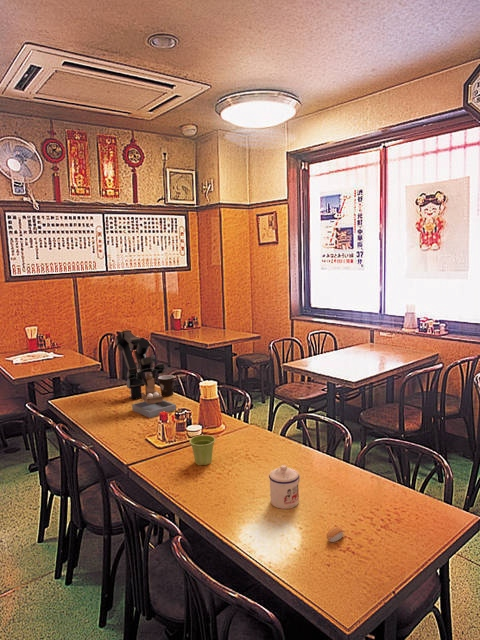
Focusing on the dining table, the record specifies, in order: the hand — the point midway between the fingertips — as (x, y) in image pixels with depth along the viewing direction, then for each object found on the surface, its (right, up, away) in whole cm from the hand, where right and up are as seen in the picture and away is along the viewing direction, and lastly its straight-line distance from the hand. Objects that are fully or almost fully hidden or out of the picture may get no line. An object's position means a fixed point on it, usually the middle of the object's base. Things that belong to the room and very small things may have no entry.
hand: (150, 385), depth 240 cm
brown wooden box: (0, -7, +1) cm, 7 cm away
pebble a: (0, -5, -2) cm, 6 cm away
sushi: (+70, -26, -111) cm, 134 cm away
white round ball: (+3, -5, 0) cm, 5 cm away
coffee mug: (+5, -9, +25) cm, 27 cm away
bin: (+1, -13, +1) cm, 13 cm away
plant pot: (+31, -20, -61) cm, 71 cm away
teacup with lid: (+59, -23, -91) cm, 111 cm away
